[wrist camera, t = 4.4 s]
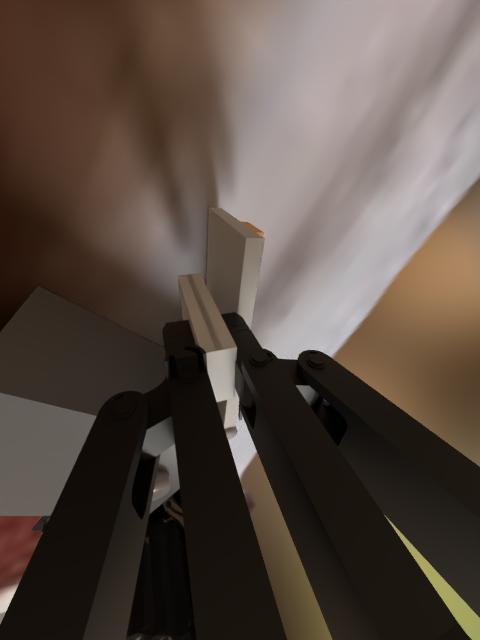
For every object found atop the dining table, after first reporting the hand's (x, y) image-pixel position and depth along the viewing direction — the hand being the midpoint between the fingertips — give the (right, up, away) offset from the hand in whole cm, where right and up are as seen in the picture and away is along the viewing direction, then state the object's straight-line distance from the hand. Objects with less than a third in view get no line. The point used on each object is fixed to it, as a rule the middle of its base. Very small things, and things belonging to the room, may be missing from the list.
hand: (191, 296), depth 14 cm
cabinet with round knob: (-8, -6, +6) cm, 12 cm away
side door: (+1, 0, +5) cm, 5 cm away
